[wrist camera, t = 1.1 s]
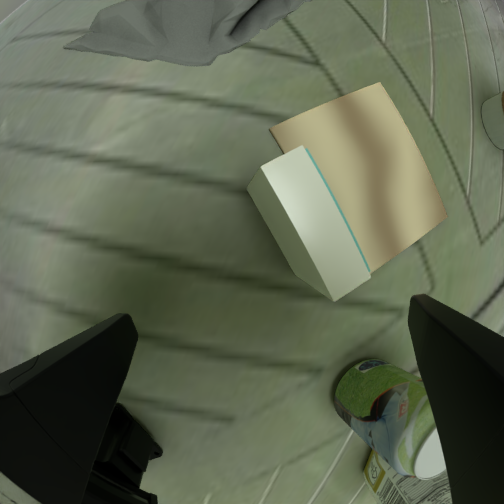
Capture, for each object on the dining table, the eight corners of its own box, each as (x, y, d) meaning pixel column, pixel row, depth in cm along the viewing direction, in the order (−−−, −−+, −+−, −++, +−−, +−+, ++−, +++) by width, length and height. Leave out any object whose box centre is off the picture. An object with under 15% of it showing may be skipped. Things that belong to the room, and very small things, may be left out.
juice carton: (371, 429, 24) (473, 563, 5) (435, 413, 25) (540, 507, 6) (353, 477, 24) (422, 600, 5) (414, 461, 25) (493, 555, 6)
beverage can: (321, 414, 23) (375, 512, 11) (342, 339, 22) (429, 421, 10) (381, 410, 24) (448, 488, 12) (404, 341, 23) (498, 401, 11)
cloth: (53, 101, 19) (40, 92, 17) (78, -4, 18) (71, -15, 15) (354, 75, 21) (365, 63, 19) (325, -24, 20) (332, -37, 18)
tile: (294, 274, 21) (334, 302, 14) (246, 188, 21) (260, 166, 13) (322, 257, 22) (374, 275, 14) (275, 172, 21) (306, 143, 13)
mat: (352, 283, 22) (354, 284, 22) (269, 129, 20) (269, 128, 20) (445, 216, 22) (447, 216, 22) (378, 83, 21) (379, 82, 20)
